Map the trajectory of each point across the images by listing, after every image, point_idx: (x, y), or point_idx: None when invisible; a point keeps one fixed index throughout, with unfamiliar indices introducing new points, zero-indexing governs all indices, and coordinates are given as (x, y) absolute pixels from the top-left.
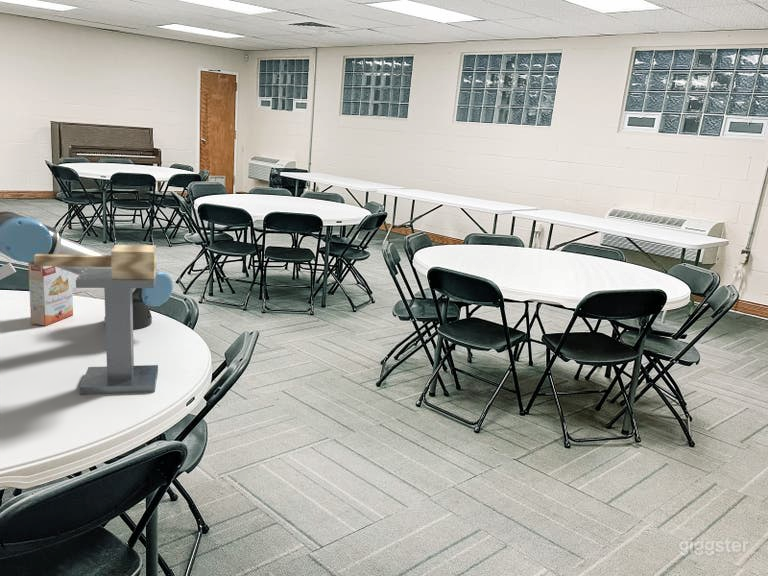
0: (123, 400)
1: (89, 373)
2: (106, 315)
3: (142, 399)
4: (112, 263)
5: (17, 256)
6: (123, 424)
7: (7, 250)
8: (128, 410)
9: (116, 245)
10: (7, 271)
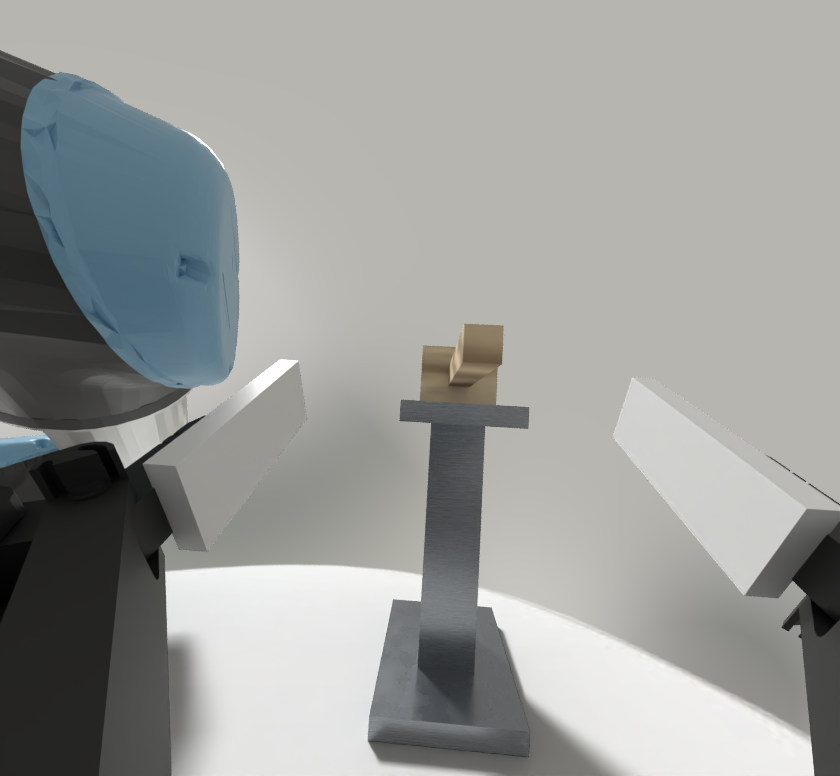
0: (540, 665)
1: (423, 711)
2: (481, 498)
3: (527, 638)
4: (496, 375)
5: (217, 338)
6: (648, 666)
7: (188, 282)
8: (584, 658)
9: (434, 346)
10: (289, 416)
